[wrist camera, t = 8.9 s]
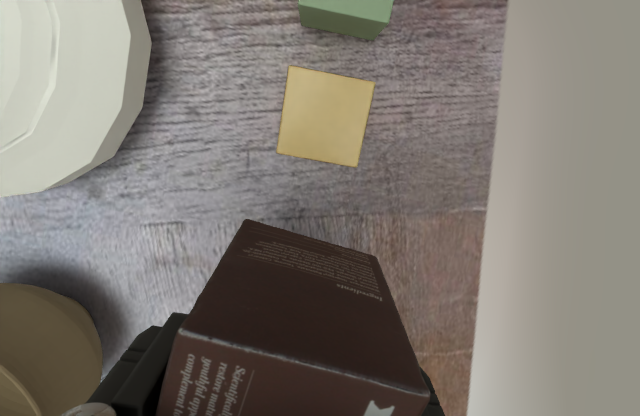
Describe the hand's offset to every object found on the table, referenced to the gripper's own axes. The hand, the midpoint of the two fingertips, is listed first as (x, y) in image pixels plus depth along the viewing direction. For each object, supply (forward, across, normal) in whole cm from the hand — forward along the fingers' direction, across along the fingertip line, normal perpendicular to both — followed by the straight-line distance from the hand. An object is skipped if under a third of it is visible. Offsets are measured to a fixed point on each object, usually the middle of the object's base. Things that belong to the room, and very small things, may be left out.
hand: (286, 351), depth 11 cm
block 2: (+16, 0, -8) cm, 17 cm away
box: (+4, 0, 0) cm, 4 cm away
